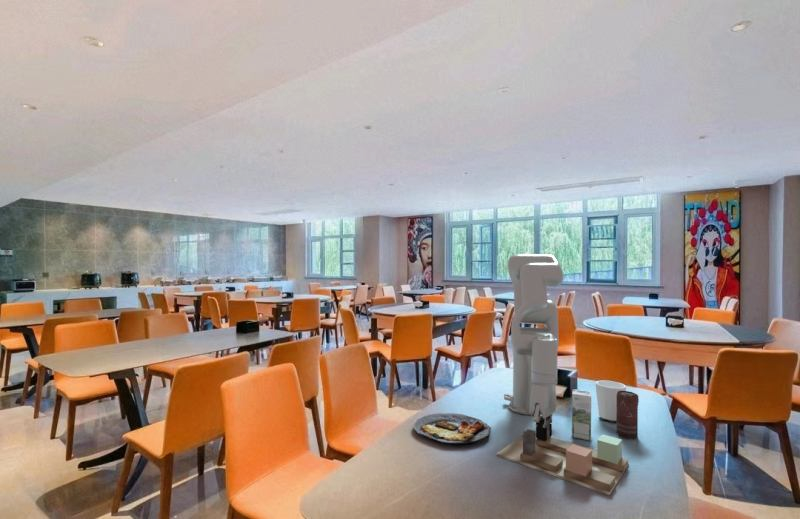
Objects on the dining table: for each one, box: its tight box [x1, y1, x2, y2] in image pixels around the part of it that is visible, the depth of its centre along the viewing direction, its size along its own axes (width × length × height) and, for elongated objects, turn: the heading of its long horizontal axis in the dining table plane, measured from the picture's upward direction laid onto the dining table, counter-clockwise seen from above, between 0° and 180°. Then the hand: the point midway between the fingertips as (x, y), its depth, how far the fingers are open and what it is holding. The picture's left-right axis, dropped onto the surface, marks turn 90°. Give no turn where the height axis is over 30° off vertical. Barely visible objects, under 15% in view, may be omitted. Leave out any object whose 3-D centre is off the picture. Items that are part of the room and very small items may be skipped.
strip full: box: [536, 418, 629, 473], centre depth 117 cm, size 24×5×8 cm, turn 48°
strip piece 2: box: [564, 467, 615, 492], centre depth 103 cm, size 11×5×2 cm, turn 49°
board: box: [496, 434, 630, 496], centre depth 115 cm, size 30×20×1 cm, turn 49°
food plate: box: [413, 412, 492, 445], centre depth 134 cm, size 25×23×4 cm
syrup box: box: [571, 388, 592, 441], centre depth 131 cm, size 6×6×14 cm
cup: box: [595, 379, 627, 423], centre depth 146 cm, size 10×10×13 cm
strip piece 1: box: [520, 428, 563, 472], centre depth 112 cm, size 10×5×8 cm, turn 49°
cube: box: [596, 434, 623, 464], centre depth 111 cm, size 5×5×5 cm
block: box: [566, 443, 592, 476], centre depth 105 cm, size 5×5×5 cm
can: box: [615, 390, 640, 440], centre depth 132 cm, size 6×6×14 cm
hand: (543, 436), depth 124 cm, fingers closed on strip full, 3 cm apart
